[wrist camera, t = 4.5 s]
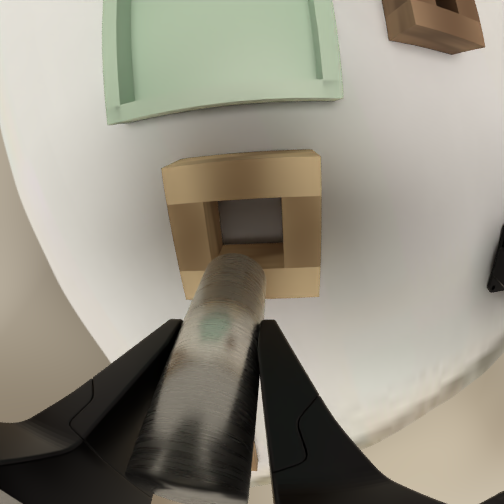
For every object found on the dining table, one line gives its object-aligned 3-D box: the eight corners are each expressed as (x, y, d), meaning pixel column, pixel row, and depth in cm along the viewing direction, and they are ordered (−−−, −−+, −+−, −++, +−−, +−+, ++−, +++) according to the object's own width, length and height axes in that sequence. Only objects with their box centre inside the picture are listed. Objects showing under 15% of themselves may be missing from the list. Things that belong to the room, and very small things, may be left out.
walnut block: (439, -4, 10) (467, -20, 6) (451, 54, 12) (485, 47, 8) (377, -21, 10) (397, -45, 7) (388, 40, 12) (415, 24, 9)
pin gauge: (264, 252, 10) (241, 484, 3) (267, 306, 11) (252, 512, 4) (199, 254, 11) (104, 458, 3) (209, 306, 12) (150, 496, 4)
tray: (309, -61, 9) (313, -80, 7) (334, 101, 15) (343, 98, 13) (123, -31, 11) (107, -43, 8) (127, 123, 16) (107, 125, 14)
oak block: (311, 149, 16) (320, 156, 13) (312, 268, 20) (319, 296, 17) (181, 158, 17) (161, 168, 14) (199, 271, 21) (186, 299, 17)
